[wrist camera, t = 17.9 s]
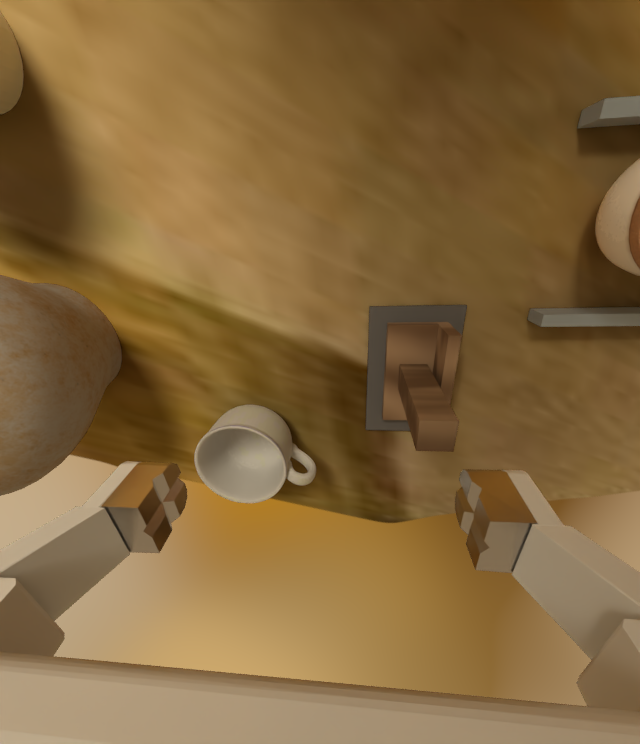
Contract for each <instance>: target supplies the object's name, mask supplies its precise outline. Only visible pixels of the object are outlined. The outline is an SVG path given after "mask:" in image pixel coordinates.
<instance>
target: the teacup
mask: <svg viewBox="0 0 640 744" xmlns="http://www.w3.org/2000/svg"><path fill="white" fill-rule="evenodd" d="M194 455H195V458H194V460H195V466H196V469H197V473H198V474H199V476H200V478H201V479H202V481H203V482H204V483H205V484H206V485H207V486H208V487H209V488H210V489H211V490H212V491H213V492H215V493H217V494H218V495H220V496H221V497H224V498H225V499H229V500H231V501H235V502H240V503H257V502H261V501H265V500H267V499H269V498H271V497H273V496H274V495H275V494H276V493H277V492H278V491H279V490H280V489H281V487H282V486H283V484H284V482H285V479H286V478H287V479H288V480H289V481H290V482H292V483H294V484H296V485H307V484H309V483H311V482H312V481H313V479H314V478H315V475H316V465H315V463H314V461H313V460H312V459H311V458H310V457H309V456H308V455H307V454H306V453H304V452H303V451H301V450H300V449H298V447H297V446H296V445H295V444H293V443H292V436H291V433H290V430H289V427H288V426H287V424H286V423H285V421H284V420H283V419H282V418H281V417H280V416H279V415H278V414H277V413H275V412H274V411H272V410H270V409H268V408H266V407H263V406H259V405H242V406H238V407H235V408H233V409H231V410H229V411H228V412H226V413H225V414H224V415H222V416H221V417H220V418H219V419H218V421H217V422H216V423H215V424H214V425H213V427H212V428H211V429H210V430H209V432H208V433H207V434H206V435H205V436H204V437H203V438H202V439H201V440H200V442H199V443H198V445H197V448H196V450H195V454H194ZM291 457H292V458H294V459H296V460H297V461H299V462H300V463H301V464H303V465H304V466H305V467H306V469H307V470H308V472H307V473H304V474H302V473H299V472H297V471H295V470H294V469H293V467H292V462H291V461H290V458H291Z"/></svg>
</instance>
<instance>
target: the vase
mask: <svg viewBox="0 0 640 744" xmlns="http://www.w3.org/2000/svg"><path fill="white" fill-rule="evenodd" d="M121 362H122V350H121V346H120V341H119V339H118V336H117V334H116V332H115V330H114V328H113V326H112V324H111V323H110V321H109V320H108V319H107V318H106V316H105V315H104V314H103V313H102V312H101V311H100V310H99V308H98V307H97V306H96V305H94V304H93V303H92V302H91V301H89V300H88V299H87V298H85V297H84V296H82V295H81V294H79V293H77V292H76V291H73V290H71V289H69V288H67V287H63V286H60V285H56V284H47V283H28V282H24V281H21V280H17V279H13V278H10V277H6V276H2V275H0V496H1V495H5V494H9V493H12V492H14V491H17V490H19V489H22V488H25V487H26V486H28V485H30V484H32V483H34V482H36V481H38V480H39V479H41V478H42V477H44V476H45V475H46V474H48V473H49V472H50V471H52V470H53V469H54V468H55V467H57V466H58V465H59V464H61V463H62V462H63V461H64V460H65V458H66V457H67V456H68V455H69V454H70V453H71V452H72V451H73V450H74V448H75V447H76V446H77V445H78V443H79V442H80V441H81V439H82V438H83V436H84V435H85V434H86V432H87V430H88V428H89V427H90V425H91V423H92V420H93V418H94V416H95V413H96V411H97V408H98V406H99V404H100V401H101V399H102V396H103V394H104V391H105V389H106V387H107V386H108V385H109V384H110V383H111V382H112V381H113V380H114V378H115V377H116V376H117V374H118V372H119V370H120V367H121Z"/></svg>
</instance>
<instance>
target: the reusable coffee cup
mask: <svg viewBox="0 0 640 744" xmlns="http://www.w3.org/2000/svg"><path fill="white" fill-rule="evenodd" d="M23 76H24V74H23V65H22V59H21V55H20V51H19V47H18V45H17V42H16V39H15V37H14V34H13V32H12V30H11V28H10V26H9V25H8V23H7V21H6V19H5V18H4V16H3V15H2V13H1V12H0V114H4V113H6V112H8V111H10V110H11V109H12V108H13V107H14V106H15V105H16V104H17V102H18V100H19V98H20V96H21V92H22V88H23Z"/></svg>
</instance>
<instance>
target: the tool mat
mask: <svg viewBox="0 0 640 744" xmlns="http://www.w3.org/2000/svg"><path fill="white" fill-rule="evenodd" d="M466 309H467V305H424V306H370V310H369V341H368V372H367V403H366V430H397V431H410V428H409V424H408V421H407V420H383V419H382V405H383V388H384V371H385V354H386V337H387V323H401V322H449V323H450V324H451V325H452V326H453V327H454V328H455V329H456V330H457V331H458V332H459V333H460V334H461V335H462V333H463V327H464V321H465V315H466Z"/></svg>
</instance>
